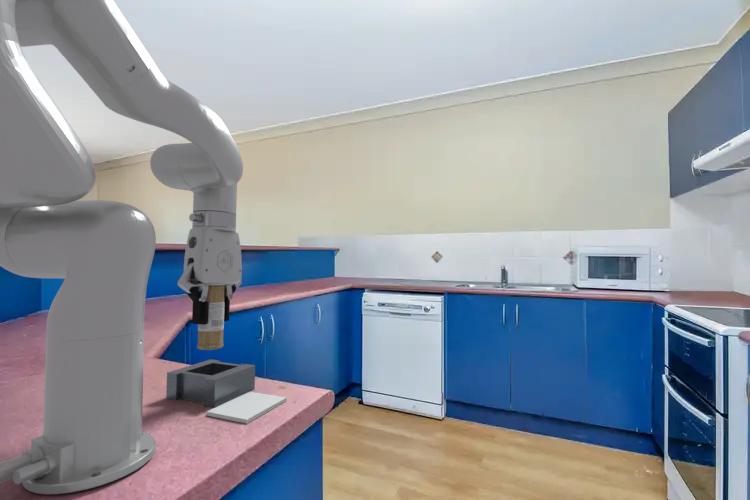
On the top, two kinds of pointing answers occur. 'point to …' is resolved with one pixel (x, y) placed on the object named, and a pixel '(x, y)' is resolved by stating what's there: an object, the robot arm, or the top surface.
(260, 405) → the rubber pad
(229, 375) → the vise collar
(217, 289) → the sprinkles bottle
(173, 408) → the top surface
